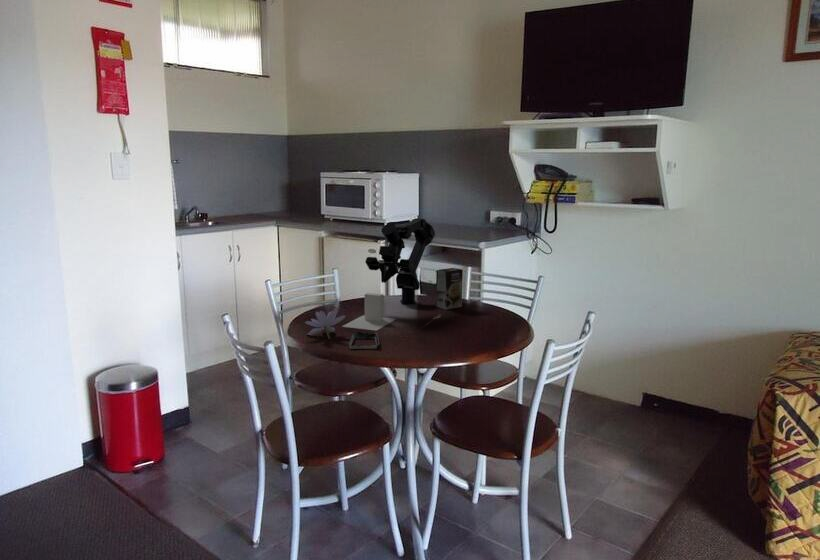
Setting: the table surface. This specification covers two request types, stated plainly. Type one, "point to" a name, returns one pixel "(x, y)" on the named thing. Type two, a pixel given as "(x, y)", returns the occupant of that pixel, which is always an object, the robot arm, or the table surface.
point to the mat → (368, 323)
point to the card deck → (374, 307)
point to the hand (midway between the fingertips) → (383, 282)
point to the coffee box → (449, 288)
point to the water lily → (324, 322)
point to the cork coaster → (437, 316)
